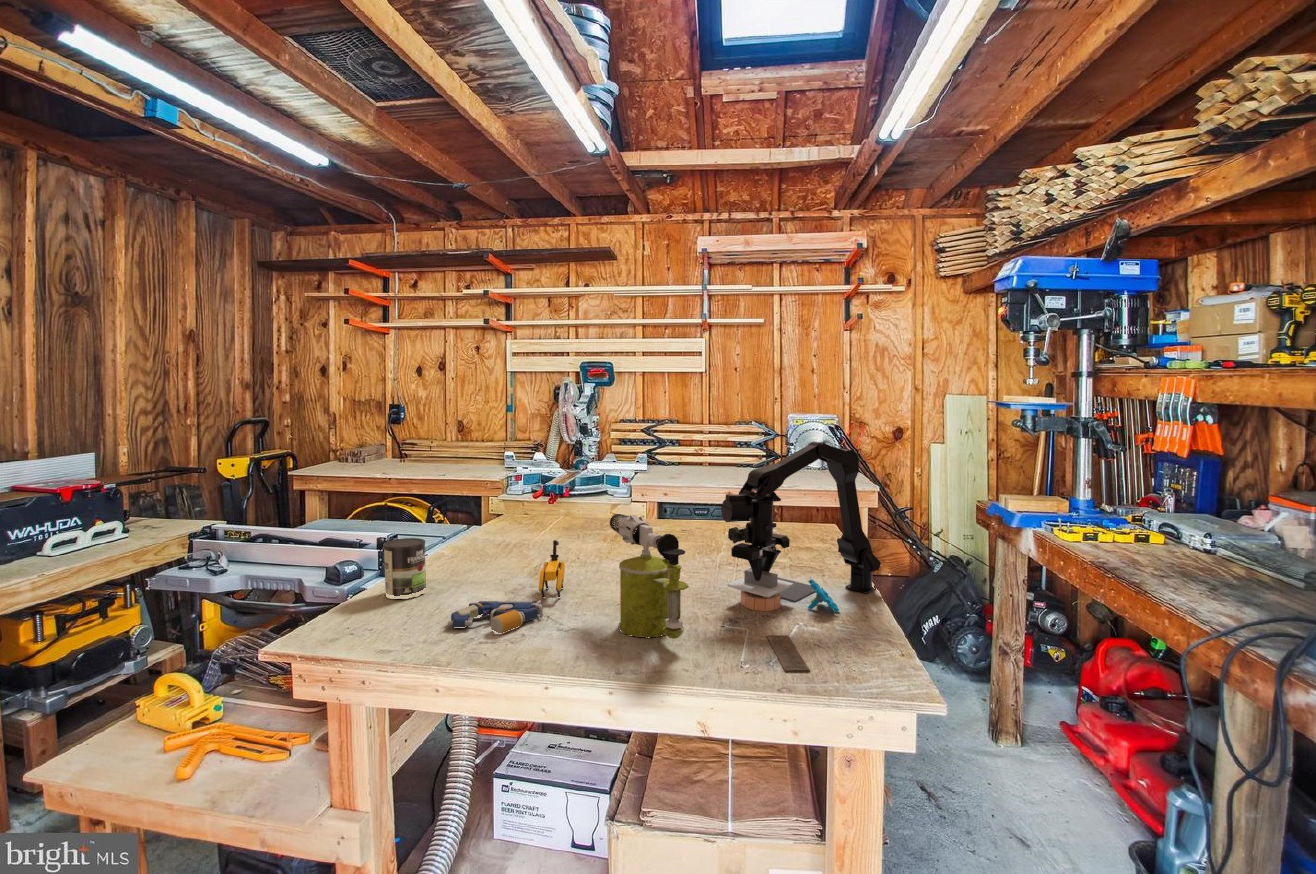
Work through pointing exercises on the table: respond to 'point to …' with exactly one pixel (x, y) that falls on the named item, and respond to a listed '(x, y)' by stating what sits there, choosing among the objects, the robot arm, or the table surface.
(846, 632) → the table surface
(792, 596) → the mat
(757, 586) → the lid
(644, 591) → the blowtorch
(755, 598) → the dish
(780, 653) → the wooden plank
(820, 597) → the gear
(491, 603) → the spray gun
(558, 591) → the robot dog
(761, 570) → the robot arm
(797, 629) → the table surface
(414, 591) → the coffee can
